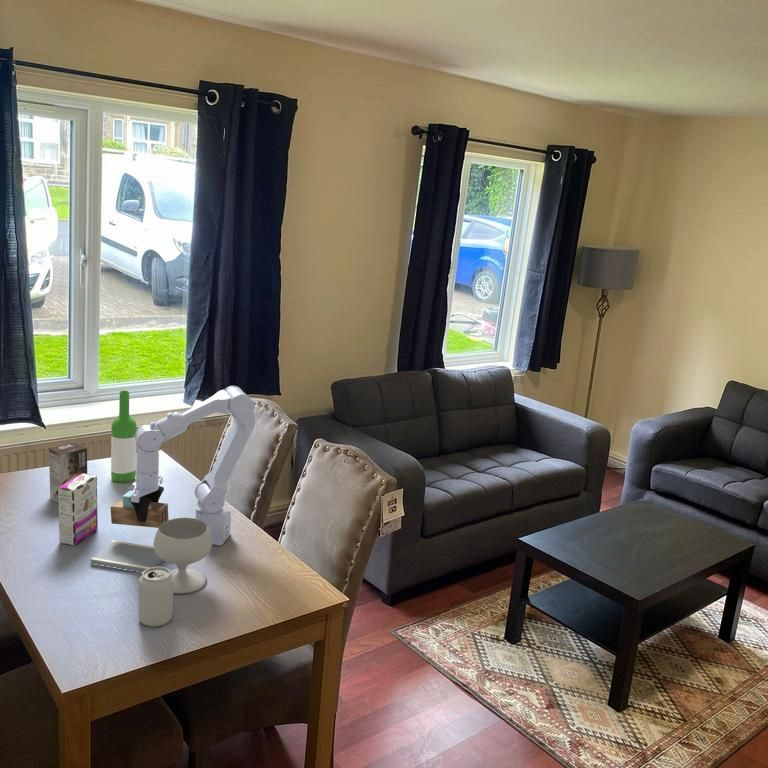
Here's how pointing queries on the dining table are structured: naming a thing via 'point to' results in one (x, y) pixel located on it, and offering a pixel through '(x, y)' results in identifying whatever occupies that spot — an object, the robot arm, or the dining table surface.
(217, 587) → the dining table surface
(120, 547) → the dock
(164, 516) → the tan block
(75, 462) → the coffee box
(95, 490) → the candy bar box
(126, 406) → the wine bottle
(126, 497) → the teal cube block
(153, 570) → the can
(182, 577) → the chalice
